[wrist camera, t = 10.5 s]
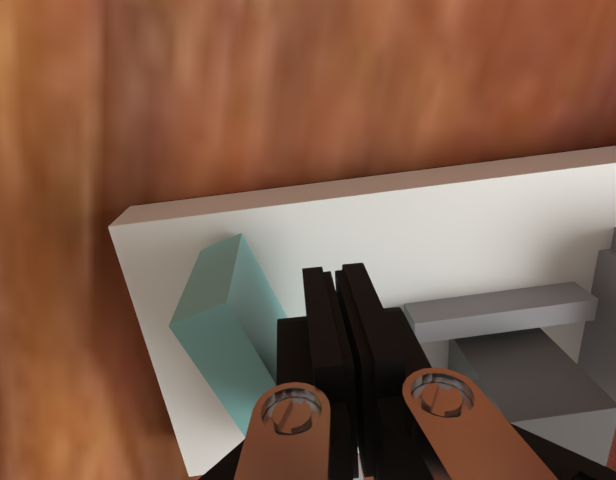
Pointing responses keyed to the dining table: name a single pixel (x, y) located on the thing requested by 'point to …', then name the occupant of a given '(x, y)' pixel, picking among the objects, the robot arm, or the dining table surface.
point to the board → (395, 263)
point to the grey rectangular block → (539, 389)
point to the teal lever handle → (231, 326)
